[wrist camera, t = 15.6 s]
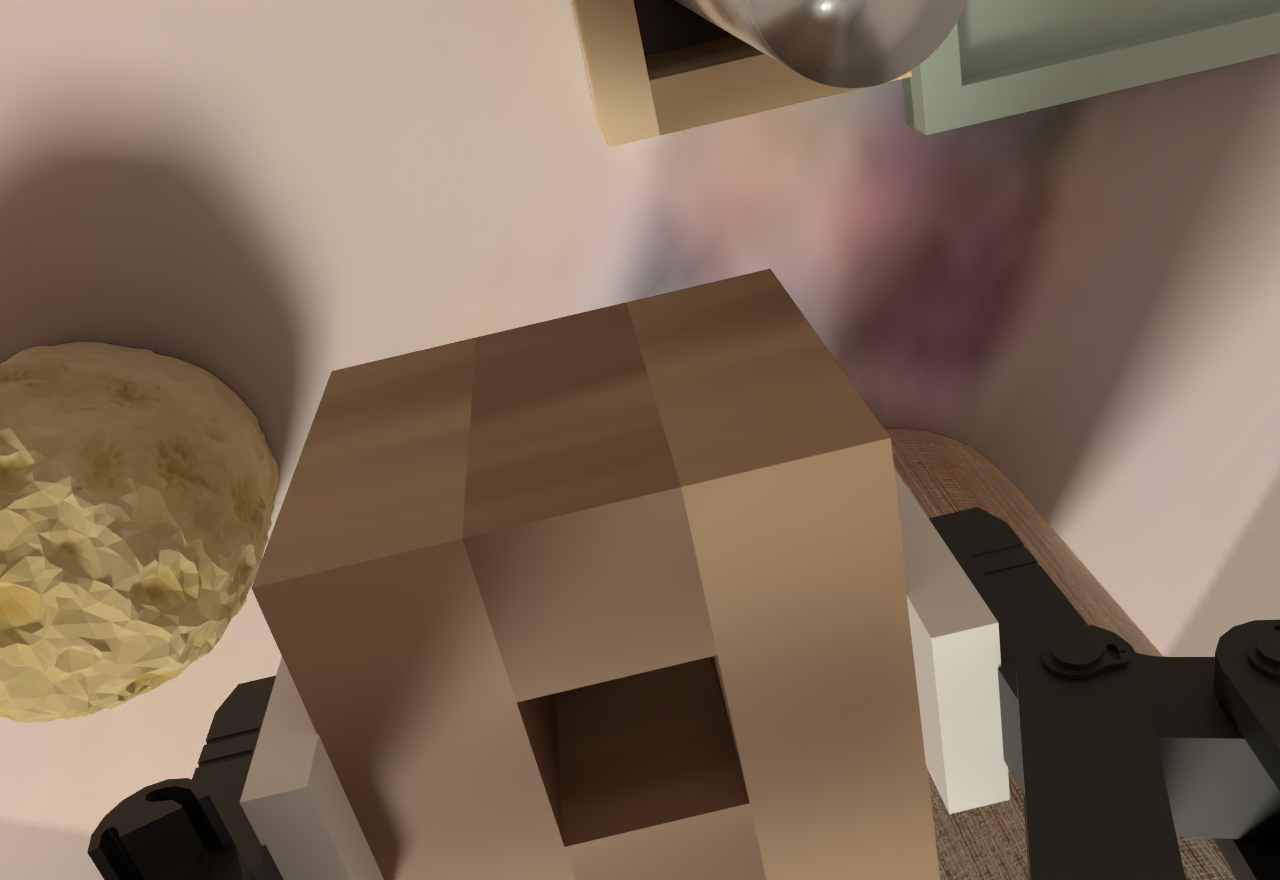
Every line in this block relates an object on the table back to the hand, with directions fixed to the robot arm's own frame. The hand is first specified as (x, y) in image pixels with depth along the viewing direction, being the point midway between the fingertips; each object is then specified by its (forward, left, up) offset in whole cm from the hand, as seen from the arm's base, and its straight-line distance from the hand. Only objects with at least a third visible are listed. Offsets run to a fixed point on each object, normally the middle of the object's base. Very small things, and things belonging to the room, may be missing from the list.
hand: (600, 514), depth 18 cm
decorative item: (+2, -14, -13) cm, 19 cm away
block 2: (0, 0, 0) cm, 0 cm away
